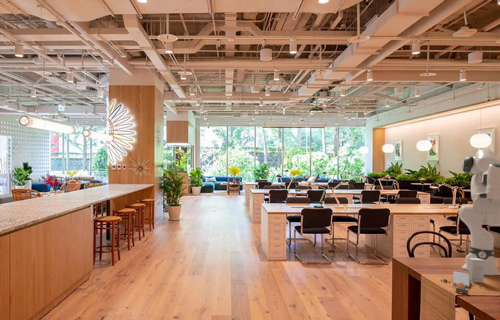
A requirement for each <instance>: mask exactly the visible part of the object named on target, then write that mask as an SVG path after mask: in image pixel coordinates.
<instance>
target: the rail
mask: <svg viewBox="0 0 500 320" xmlns="http://www.w3.org/2000/svg"><path fill="white" fill-rule="evenodd" d="M466 289H467V288H464V289H461V288H456V287H455V292H456V291H457V292H462V293H465V294H464V295H467V294H468V295H469V290H466ZM457 292H456V293H457ZM462 293H461V294H462Z"/></svg>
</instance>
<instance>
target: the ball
mask: <svg viewBox="0 0 500 320" xmlns="http://www.w3.org/2000/svg"><path fill="white" fill-rule="evenodd" d="M455 287H457V288H461V289H466V287H465V285H464V283H462V282H458V283H457V284H456V285H455Z"/></svg>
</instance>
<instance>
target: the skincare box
mask: <svg viewBox="0 0 500 320" xmlns="http://www.w3.org/2000/svg"><path fill="white" fill-rule="evenodd" d="M467 274H468V275H469V282H472V283H482V284H483V283H484V277H485V275H484V260H482V259H480V258H469V262H468V270H467Z"/></svg>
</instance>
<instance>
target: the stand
mask: <svg viewBox="0 0 500 320" xmlns="http://www.w3.org/2000/svg"><path fill="white" fill-rule="evenodd" d="M444 280H445V281H444ZM440 281H441V282H443V283H445V282H446V283H445V284H447V283H450V282H451V281H450V280H448V279H445V278H443V279H442V278H441V279H440Z"/></svg>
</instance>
